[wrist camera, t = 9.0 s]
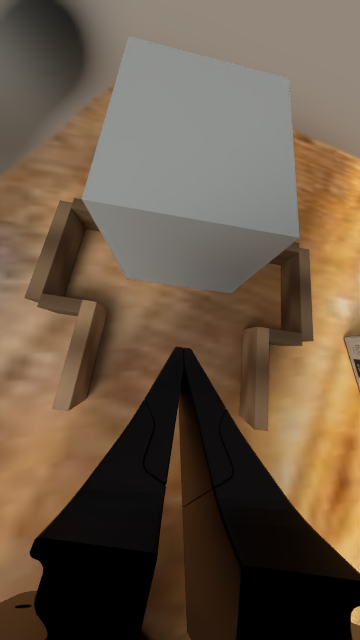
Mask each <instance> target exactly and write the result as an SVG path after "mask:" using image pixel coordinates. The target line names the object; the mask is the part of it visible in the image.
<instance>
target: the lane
mask: <svg viewBox="0 0 360 640" xmlns="http://www.w3.org/2000/svg"><path fill="white" fill-rule="evenodd" d="M85 228H86V229H91V230H96V231H100V230H99V229H98V227H97V225H96V223H95V222H94V220H93V218H92V216H91V215H90V213H89V211H88V209H87V208H86V206H85V204H84V202H83V201H82V199H77V198H74V201H73V203H71V202H66V201H61V200H60V202H59V205H58V207H57V210H56V213H55V216H54V218H53V221H52V224H51V227H50V229H49V232H48V235H47V238H46V240H45V243H44V246H43V249H42V251H41V254H40V257H39V260H38V262H37V265H36V268H35V271H34V273H33V276H32V279H31V282H30V284H29V287H28V290H27V293H26V295H25V298H27V299H29V300H32V301H35V302H38V306H37V307H40V308H43V309H46V310H49V311H53V312H56V313H59V314H66V315H73V316H78V318H77V321H76V325H75V329H74V332H73V336H72V339H71V343H70V346H69V350H68V354H67V357H66V361H65V364H64V368H63V371H62V375H61V379H60V382H59V386H58V389H57V393H56V396H55V400H54V404H53V407H52V409H55V410H65V411H69V410H70V409H72V408H73V407H75V406H76V405H78V404H79V403H81V402H83V401H84V400H86V398H87V394H88V389H89V385H90V381H91V377H92V373H93V369H94V364H95V360H96V356H97V352H98V348H99V344H100V340H101V335H102V331H103V327H104V323H105V319H106V315H107V310H108V309H107V308H105V307H104V306H102V305H101V304H99V303H98V302H94V301H88V300H81V299H74V298H68V297H64V295H65V292H66V289H67V285H68V282H69V279H70V276H71V272H72V269H73V266H74V263H75V259H76V256H77V253H78V250H79V246H80V243H81V240H82V237H83V233H84V230H85ZM269 263H272V264H278V265H281V312H282V330H277V329H270V328H264V327H253V328H248V329H244V330H243V351H242V372H241V393H240V414H239V415H240V416H241V417H242V418H243V419H244V420H245V421H246V422H247V423H248V424H249V425H250V426H251V427H252V428H254V429H256V430H266V431H268V385H269V344H273V345H280V346H302V342H303V341H313V323H312V302H311V281H310V260H309V250H308V249H303V248H299V243H296V242H293V243H292V244H291V245H290V246H289V247H287V248H286V249H285V250H284V251H282V252H281V253H280V254H279V255H278V256H276V257H275V258H274V259H273V260H271V261H270V262H269Z"/></svg>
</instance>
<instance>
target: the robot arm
mask: <svg viewBox="0 0 360 640" xmlns="http://www.w3.org/2000/svg"><path fill="white" fill-rule="evenodd" d="M178 403H179V429H180V456H181V483H182V507H183V509H182V511H183V538H184V564H185V591H186V617H187V632H188V634H189V636H190V638H191V640H360V626H359V625H356V624H354V623H351V612H352V611H353V609H354V608H356V607H358V606H360V573H359V572H358V571H357V570H356V569H355V568H354V567H353V566H352V565H350V564H349V563H348V562H347V561H346V560H345V559H344V558H343V557H342V556H341V555H340V554H339V553H338V552H337V551H336V550H335V549H334V548H333V547H332V546H331V545H330V544H329V543H328V542H326V541H325V540H324V539H323V538H322V537H321V536H320V535H319V534H318V533H317V532H316V531H315V530H314V529H313V528H312V527H311V526H310V525H309V524H308V523H307V521H306V520H305V519H304V518H303V517H302V516H301V515H300V514H299V512H298V511H297V510H296V509H295V508H294V506H293V505H292V504H291V503H290V501H289V500H288V499H287V497H286V496H285V495H284V493H283V492H282V490H281V489H280V488H279V486H278V485H277V483H276V482H275V480H274V479H273V478H272V476H271V475H270V473H269V472H268V471H267V469H266V468H265V466H264V465H263V464H262V462H261V461H260V459H259V458H258V456H257V455H256V454H255V452H254V451H253V449H252V448H251V446H250V445H249V444H248V442H247V441H246V439H245V438H244V436H243V435H242V433H241V432H240V430H239V429H238V427H237V425H236V424H235V422H234V420H233V419H232V417H231V416H230V414H229V412H228V410H227V409H226V407H225V405H224V404H223V402H222V400H221V399H220V397H219V395H218V394H217V392H216V390H215V389H214V387H213V385H212V384H211V382H210V380H209V378H208V377H207V375H206V373H205V372H204V370H203V368H202V367H201V365H200V363H199V362H198V360H197V358H196V357H195V355H194V353H193V351H192V350H191V349H190V348H182V347H175V348H174V350H173V352H172V353H171V355H170V357H169V358H168V360H167V362H166V364H165V365H164V367H163V369H162V370H161V372H160V374H159V375H158V377H157V379H156V380H155V382H154V384H153V385H152V387H151V389H150V390H149V392H148V394H147V395H146V397H145V399H144V400H143V402H142V404H141V405H140V407H139V409H138V410H137V412H136V413H135V415H134V417H133V418H132V420H131V421H130V423H129V424H128V426H127V427H126V428H125V430H124V431H123V433H122V434H121V435H120V437H119V438H118V439H117V441H116V442H115V443H114V445H113V446H112V447H111V449H110V450H109V451H108V453H107V454H106V455H105V457H104V458H103V459H102V461H101V462H100V463H99V465H98V466H97V467H96V469H95V470H94V471H93V473H92V474H91V475H90V477H89V478H88V479H87V481H86V482H85V483H84V484H83V486H82V487H81V488H80V490H79V491H78V492H77V493H76V494H75V496H74V497H73V498H72V499H71V501H70V502H69V503H68V504H67V505H66V506H65V508H64V509H63V510H62V511H61V512H60V513H59V515H58V516H57V517H56V518H55V519H54V520H53V521H52V522H51V523H50V524H49V525H48V526H47V527H46V528H45V529H44V530H43V531H42V532H41V534H40V535H39V536H38V537H37V538H36V539H35V540H34V543H33V545H32V548H31V550H30V556H31V557H32V558H34V559H36V560H39V561H40V562H41V564H42V566H43V574H42V577H41V581H40V584H39V587H38V590H37V591H30V592H24V593H20V594H18V595H15V596H13V597H11V598H9V599H7V600H5V601H3V602H1V603H0V640H148V639H147V638H146V637H145V636H144V635H143V633H142V632H141V627H142V623H143V618H144V614H145V610H146V605H147V601H148V596H149V592H150V588H151V583H152V579H153V575H154V570H155V566H156V561H157V554H158V545H159V536H160V527H161V519H162V511H163V503H164V496H165V489H166V486H165V485H166V483H167V476H168V469H169V463H170V456H171V449H172V443H173V436H174V429H175V423H176V416H177V409H178Z"/></svg>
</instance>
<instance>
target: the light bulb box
mask: <svg viewBox="0 0 360 640" xmlns="http://www.w3.org/2000/svg"><path fill="white" fill-rule="evenodd" d="M344 339H345V342H346V346H347V349H348V353H349V356H350V359H351V363H352V366H353V369H354V373H355V376H356V380H357V383H358V387H359V390H360V335H358V336H350V337H345V338H344Z"/></svg>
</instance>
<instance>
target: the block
mask: <svg viewBox="0 0 360 640" xmlns="http://www.w3.org/2000/svg"><path fill="white" fill-rule="evenodd" d="M82 201H83V202H84V204H85V206H86V208H87V209H88V211H89V213H90V215H91V216H92V218H93V220H94V222H95V223H96V225H97V227H98V229H99V230H100V232H101V234H102V236H103V237H104V239H105V241H106V243H107V244H108V246H109V248H110V250H111V251H112V253H113V255H114V257H115V258H116V260H117V262H118V264H119V265H120V267H121V269H122V271H123V272H124V274H125V276H126V278H127V279H130V280H137V281H144V282H151V283H159V284H166V285H173V286H180V287H187V288H195V289H202V290H209V291H216V292H223V293H232V292H233V291H235V290H236V289H237V288H238V287H240V286H241V285H242V284H243V283H244V282H246V281H247V280H248V279H249V278H251V277H252V276H253V275H254V274H255V273H257V272H258V271H259V270H260V269H262V268H263V267H264V266H265V265H267V264H268V263H269V262H270V261H271V260H273V259H274V258H275V257H276V256H278V255H279V254H280V253H281V252H282V251H284V250H285V249H286V248H287V247H289V246H290V245H291V244H292V243H293V242H295V241H296V240H297V239H298V238H299V223H298V208H297V193H296V178H295V163H294V147H293V132H292V118H291V102H290V87H289V79H288V78H284V77H280V76H277V75H273V74H269V73H266V72H262V71H258V70H254V69H250V68H247V67H243V66H239V65H235V64H232V63H227V62H224V61H220V60H217V59H213V58H209V57H205V56H201V55H198V54H194V53H190V52H186V51H183V50H179V49H175V48H171V47H167V46H164V45H159V44H156V43H152V42H148V41H145V40H141V39H137V38H133V37H129V38H128V42H127V45H126V48H125V52H124V55H123V59H122V62H121V65H120V69H119V72H118V76H117V79H116V83H115V86H114V90H113V93H112V96H111V100H110V103H109V107H108V110H107V114H106V117H105V121H104V124H103V128H102V131H101V135H100V138H99V141H98V145H97V148H96V152H95V155H94V159H93V162H92V166H91V169H90V173H89V176H88V179H87V183H86V186H85V190H84V193H83V197H82Z"/></svg>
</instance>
